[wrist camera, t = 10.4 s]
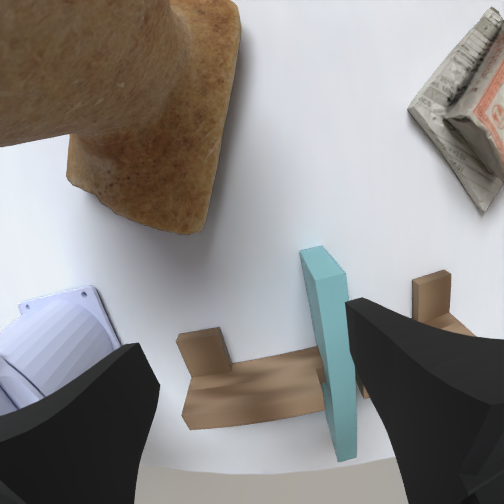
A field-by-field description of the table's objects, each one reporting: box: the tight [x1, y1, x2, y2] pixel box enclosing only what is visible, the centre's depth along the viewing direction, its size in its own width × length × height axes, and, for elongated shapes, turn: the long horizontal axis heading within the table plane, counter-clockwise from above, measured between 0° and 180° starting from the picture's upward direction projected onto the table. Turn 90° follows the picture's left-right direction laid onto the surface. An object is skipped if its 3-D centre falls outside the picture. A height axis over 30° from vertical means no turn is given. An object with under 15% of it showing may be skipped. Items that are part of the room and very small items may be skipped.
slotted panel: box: [299, 246, 357, 462], centre depth 18 cm, size 16×2×5 cm, turn 14°
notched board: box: [176, 270, 476, 430], centre depth 18 cm, size 20×8×5 cm, turn 103°
